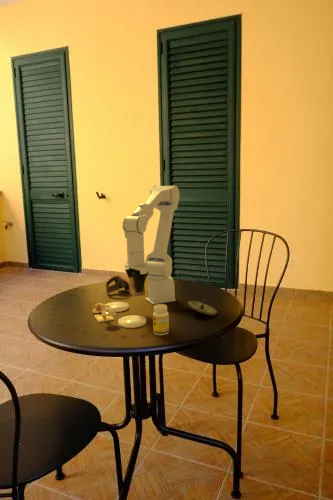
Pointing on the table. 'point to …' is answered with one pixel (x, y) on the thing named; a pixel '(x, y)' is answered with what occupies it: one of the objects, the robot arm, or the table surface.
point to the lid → (202, 307)
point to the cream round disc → (132, 321)
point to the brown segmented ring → (117, 284)
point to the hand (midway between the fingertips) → (137, 290)
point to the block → (132, 287)
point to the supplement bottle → (160, 320)
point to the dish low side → (117, 306)
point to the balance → (103, 313)
